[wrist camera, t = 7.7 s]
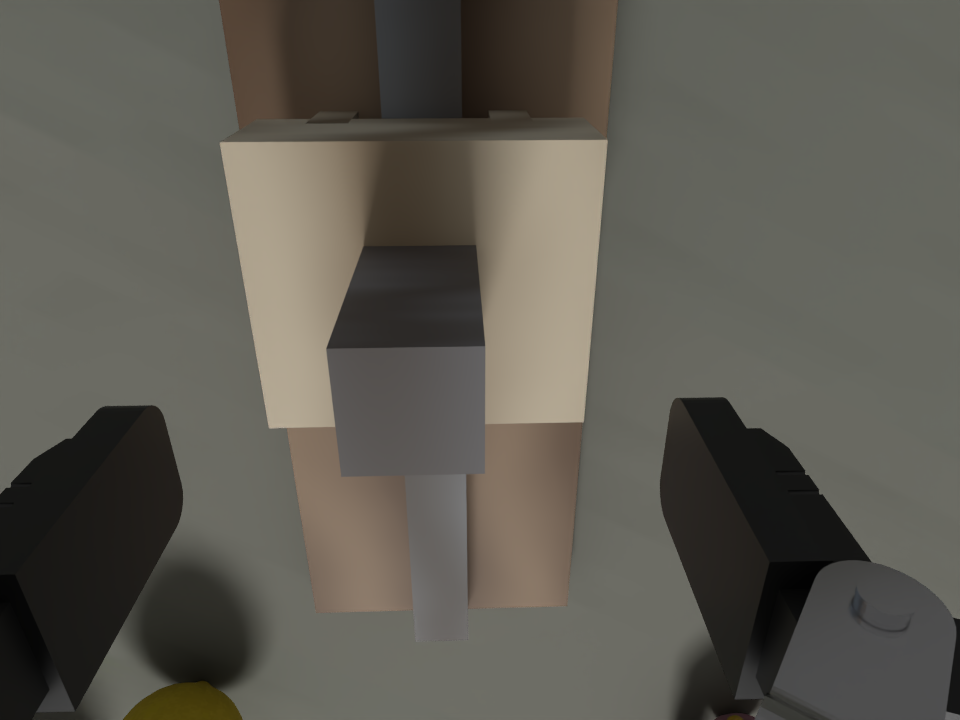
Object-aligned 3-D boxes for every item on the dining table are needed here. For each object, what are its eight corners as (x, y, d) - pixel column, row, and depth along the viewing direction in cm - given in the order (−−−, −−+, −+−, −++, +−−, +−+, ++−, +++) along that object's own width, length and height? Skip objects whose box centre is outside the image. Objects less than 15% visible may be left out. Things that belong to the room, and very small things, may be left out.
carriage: (575, 109, 18) (677, 203, 10) (560, 346, 21) (627, 565, 13) (269, 111, 18) (111, 208, 10) (302, 350, 21) (205, 575, 13)
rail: (609, -44, 18) (636, -51, 15) (561, 578, 29) (572, 637, 26) (229, -44, 18) (190, -51, 15) (322, 584, 28) (308, 644, 26)
